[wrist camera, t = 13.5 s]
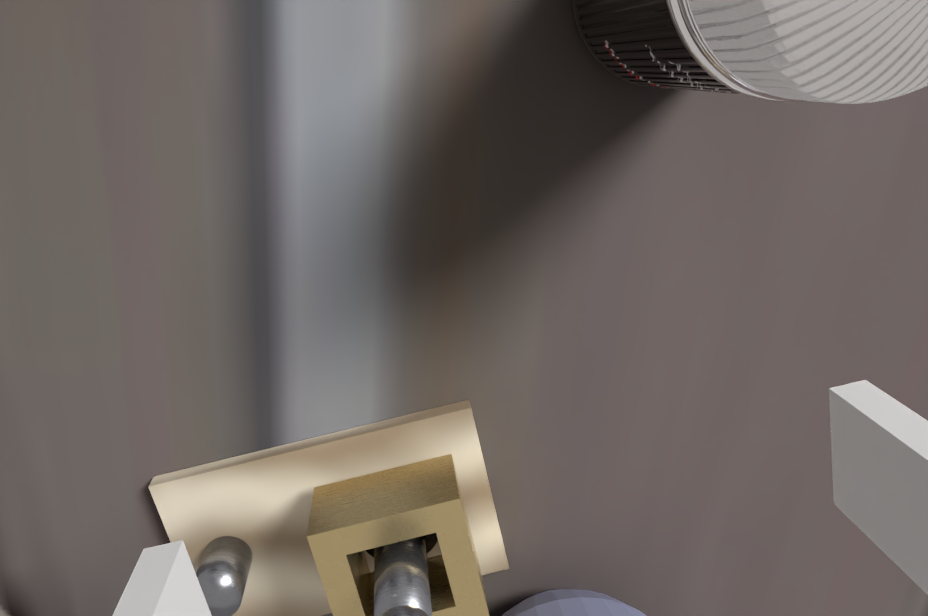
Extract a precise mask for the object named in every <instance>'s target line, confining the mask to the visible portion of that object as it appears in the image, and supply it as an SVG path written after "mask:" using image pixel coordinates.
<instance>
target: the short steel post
mask: <svg viewBox="0 0 928 616" xmlns="http://www.w3.org/2000/svg"><path fill="white" fill-rule="evenodd" d="M252 557H253V556H252V551H251V549H250V547H249V545H248V544H247V543H246V542H245V541H243V540H241V539H240V538H237V537H233V536H222V537H218V538H216V539H214V540H212V541H211V542H210V543H209V544H208V545H207V546H206V548H205V550H204V553H203V555H202V558H201V561H200V564H199V566H198V569H197V572H196V576H197V578H198V581H199V584H200V586H201V589H202V591H203V594H204V597H205V599H206V602H207V605H208V607H209V610H210V612H211V615H212V616H232V615H233V614H234V613H236V611H237V610H238V609H239V607H240V605H241V601H242V598H243V594H244V590H245V586H246V582H247V578H248V574H249V571H250V567H251V563H252Z"/></svg>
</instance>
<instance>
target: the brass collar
mask: <svg viewBox="0 0 928 616" xmlns="http://www.w3.org/2000/svg"><path fill="white" fill-rule="evenodd" d="M432 533H436V534H437V538H438V542H439V546H440V549H441V553H442V554H441V555H437V556H433V557H429V558H427V565H428V576H429V586H430V597H431V608H432V616H490V615H489V610H488V605H487V599H486V594H485V589H484V584H483V579H482V574H481V569H480V565H479V561H478V557H477V553H476V549H475V545H474V541H473V537H472V533H471V529H470V525H469V521H468V517H467V513H466V509H465V505H464V501H463V497H462V493H461V489H460V485H459V481H458V477H457V473H456V469H455V465H454V461H453V457H452V454H448V455H444V456H440V457H436V458H432V459H428V460H424V461H420V462H416V463H412V464H408V465H403V466H399V467H395V468H391V469H387V470H383V471H379V472H375V473H371V474H367V475H363V476H359V477H355V478H351V479H347V480H343V481H339V482H334V483H330V484H326V485H322V486H318V487H314V493H313V499H312V505H311V512H310V518H309V524H308V531H307V539H308V542H309V545H310V548H311V551H312V554H313V557H314V560H315V563H316V566H317V569H318V572H319V575H320V578H321V581H322V584H323V587H324V590H325V593H326V596H327V599H328V602H329V605H330V608H331V611H332V614H333V616H374V571H373V572H370V569H369V566H368V563H367V560H366V556H365V553H364V550H368V549H372V548H376V547H380V546H384V545H388V544H392V543H396V542H400V541H404V540H408V539H412V538H416V537H420V536H424V535H428V534H432Z"/></svg>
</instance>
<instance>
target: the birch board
mask: <svg viewBox="0 0 928 616" xmlns="http://www.w3.org/2000/svg"><path fill="white" fill-rule="evenodd" d="M448 454H452V457H453V461H454V465H455V469H456V473H457V477H458V481H459V485H460V489H461V493H462V497H463V501H464V505H465V509H466V513H467V517H468V521H469V525H470V529H471V533H472V537H473V541H474V545H475V549H476V553H477V557H478V561H479V565H480V569H481V574H482V575H485V574H489V573H493V572H497V571H501V570H505V569H509V566H508V562H507V557H506V553H505V549H504V545H503V540H502V536H501V532H500V528H499V523H498V519H497V515H496V511H495V506H494V502H493V498H492V494H491V490H490V485H489V481H488V477H487V473H486V468H485V464H484V460H483V456H482V451H481V447H480V443H479V439H478V435H477V430H476V426H475V422H474V418H473V413H472V409H471V405H470V401H469V400H465V401H461V402H457V403H453V404H449V405H445V406H441V407H437V408H433V409H429V410H424V411H420V412H416V413H412V414H408V415H404V416H400V417H396V418H392V419H388V420H384V421H379V422H375V423H371V424H367V425H363V426H359V427H355V428H351V429H347V430H343V431H338V432H334V433H330V434H326V435H322V436H318V437H314V438H310V439H306V440H302V441H298V442H293V443H289V444H285V445H281V446H277V447H273V448H269V449H265V450H261V451H257V452H253V453H248V454H244V455H240V456H236V457H232V458H228V459H224V460H220V461H216V462H212V463H207V464H203V465H199V466H195V467H191V468H187V469H183V470H179V471H175V472H171V473H167V474H162V475H158V476H154V477H153V479H152V481H151V483H150V484H149V486H148V487H149V490H150V492H151V495H152V497H153V500H154V502H155V505H156V507H157V510H158V512H159V515H160V517H161V520H162V522H163V525H164V527H165V530H166V532H167V535H168V537H169V540H170V542H176V541H180V540H183V542H184V544H185V547H186V549H187V552H188V555H189V557H190V560H191V563H192V565H193V568H194V570H195V573H196V572H197V569H198V566H199V564H200V561H201V558H202V555H203V553H204V550H205V548H206V546H207V545H208V544H209V543H210V542H211V541H212V540H214V539H216V538H218V537H222V536H233V537H237V538H240V539H241V540H243V541H245V542H246V543H247V544H248V545H249V547H250V549H251V551H252V556H253V557H252V563H251V567H250V571H249V574H248V578H247V582H246V586H245V590H244V594H243V598H242V601H241V605H240V607H239V609H238V610H237V611H236V613H234V614H233V615H232V616H322V615H326V614H330V613H332V611H331V608H330V605H329V602H328V599H327V596H326V593H325V590H324V587H323V584H322V581H321V578H320V575H319V572H318V569H317V566H316V563H315V560H314V557H313V554H312V551H311V548H310V545H309V542H308V539H307V531H308V524H309V518H310V512H311V505H312V499H313V493H314V487H318V486H322V485H326V484H330V483H334V482H339V481H343V480H347V479H351V478H355V477H359V476H363V475H367V474H371V473H375V472H379V471H383V470H387V469H391V468H395V467H399V466H403V465H408V464H412V463H416V462H420V461H424V460H428V459H432V458H436V457H440V456H444V455H448ZM364 553H365V556H366V560H367V563H368V566H369V569H370V572H373V571H374V557H372V556H371V555H369V554H368V553H367V552H366V551H365V550H364ZM441 554H442V553H441V549H440V546H439V542H438V541H437V543H436V545H435V546H434V547H433V549H432V550H431V551H430V552H429V553H427V558H429V557H433V556H437V555H441Z"/></svg>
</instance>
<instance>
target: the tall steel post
mask: <svg viewBox="0 0 928 616" xmlns="http://www.w3.org/2000/svg"><path fill="white" fill-rule="evenodd" d="M437 541H438V538H437V534H436V533H432V534H428V535H424V536H420V537H416V538H412V539H408V540H404V541H400V542H396V543H392V544H388V545H384V546H380V547H376V548H372V549H368V550H365V551H366V552H367V553H368V554H369V555H371V556H372V557H374V616H432V608H431V597H430V586H429V576H428V565H427V553H429V552H430V551H431V550H432V549H433V547H434V546H435V545H436V543H437Z"/></svg>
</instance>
